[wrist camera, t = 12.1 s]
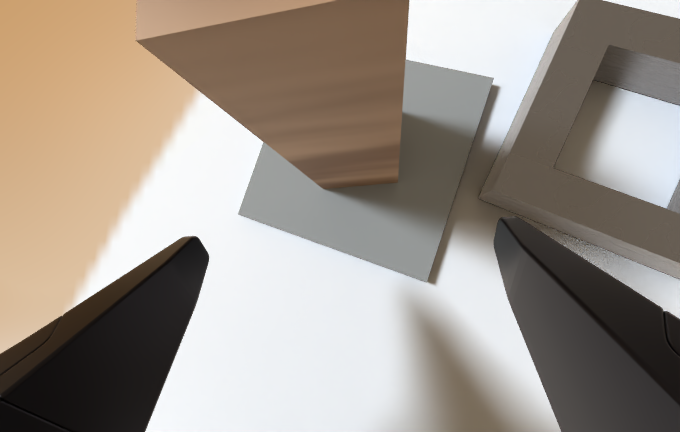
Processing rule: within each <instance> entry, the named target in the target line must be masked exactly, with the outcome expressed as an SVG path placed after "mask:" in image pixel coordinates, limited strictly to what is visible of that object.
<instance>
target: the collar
mask: <svg viewBox="0 0 680 432" xmlns="http://www.w3.org/2000/svg"><path fill="white" fill-rule="evenodd" d="M593 80H596V81H599V82H603V83H606V84H609V85H613V86H616V87H620V88H623V89H626V90H630V91H633V92H637V93H640V94H644V95H647V96H650V97H654V98H657V99H661V100H664V101H667V102H671V103H674V104H678V105H680V19H678V18H674V17H670V16H665V15H661V14H657V13H653V12H649V11H644V10H640V9H636V8H632V7H628V6H624V5H619V4H615V3H611V2H607V1H603V0H577V2H576V3H575V4H574V6H573V7H572V8H571V10H570V11H569V12H568V14H567V15H566V16H565V18H564V19H563V20H562V22H561V23H560V24H559V26H558V27H557V28H556V30H555V31H554V32H553V35H552V37H551V39H550V41H549V43H548V46H547V48H546V50H545V52H544V54H543V57H542V59H541V61H540V63H539V65H538V68H537V70H536V72H535V74H534V76H533V79H532V81H531V83H530V85H529V87H528V89H527V92H526V94H525V96H524V98H523V100H522V103H521V105H520V107H519V109H518V111H517V114H516V116H515V118H514V120H513V122H512V125H511V127H510V129H509V131H508V133H507V136H506V138H505V140H504V142H503V144H502V147H501V149H500V151H499V153H498V155H497V158H496V160H495V162H494V164H493V166H492V169H491V171H490V173H489V175H488V177H487V179H486V182H485V184H484V186H483V188H482V190H481V193H480V195H479V197H478V199H481V200H483V201H486V202H488V203H491V204H493V205H496V206H498V207H501V208H503V209H506V210H508V211H511V212H513V213H516V214H518V215H521V216H523V217H526V218H528V219H531V220H533V221H536V222H538V223H541V224H543V225H546V226H548V227H551V228H553V229H556V230H558V231H561V232H563V233H566V234H568V235H571V236H573V237H576V238H578V239H581V240H583V241H586V242H588V243H591V244H593V245H596V246H598V247H601V248H603V249H606V250H608V251H611V252H613V253H616V254H618V255H621V256H623V257H626V258H628V259H631V260H633V261H636V262H638V263H641V264H643V265H646V266H648V267H651V268H653V269H656V270H658V271H660V272H663V273H665V274H668V275H670V276H673V277H675V278H678V279H680V180H679V183H678V185H677V187H676V189H675V192H674V194H673V196H672V198H671V201H670V203H669V205H668V207H667V209H665V208H663V207H660V206H657V205H654V204H652V203H649V202H646V201H643V200H641V199H638V198H635V197H632V196H629V195H627V194H624V193H621V192H618V191H616V190H613V189H610V188H607V187H604V186H602V185H599V184H596V183H593V182H591V181H588V180H585V179H582V178H579V177H577V176H574V175H571V174H568V173H566V172H563V171H560V170H557V169H554V168H553V167H554V165H555V163H556V160H557V158H558V156H559V154H560V152H561V149H562V147H563V145H564V143H565V140H566V138H567V136H568V134H569V132H570V129H571V127H572V125H573V123H574V121H575V118H576V116H577V114H578V112H579V110H580V107H581V105H582V103H583V101H584V99H585V96H586V94H587V92H588V90H589V87H590V85H591V83H592V81H593Z"/></svg>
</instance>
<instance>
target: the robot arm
mask: <svg viewBox="0 0 680 432" xmlns="http://www.w3.org/2000/svg"><path fill="white" fill-rule="evenodd" d="M494 249H495V253H496V256H497V260H498V264H499V268H500V272H501V275H502V279H503V283H504V287H505V290H506V294H507V297H508V300H509V303H510V305H511V308H512V310H513V313H514V315H515V318H516V320H517V323H518V325H519V328H520V330H521V333H522V335H523V338H524V340H525V343H526V345H527V348H528V350H529V352H530V355H531V357H532V360H533V362H534V365H535V367H536V370H537V372H538V375H539V377H540V380H541V382H542V385H543V387H544V390H545V392H546V395H547V397H548V399H549V402H550V404H551V407H552V409H553V412H554V414H555V417H556V419H557V422H558V424H559V427H560V429H561V432H680V319H679V318H677V317H676V316H674V315H673V314H671V313H669V312H667V311H664V312H663V309H662V308H661V307H660V306H658V305H656V304H655V303H653V302H652V301H650V300H648V299H647V298H645V297H644V296H642V295H641V294H639V293H637V292H636V291H634V290H633V289H631V288H629V287H628V286H626V285H625V284H623V283H622V282H620V281H618V280H617V279H615V278H614V277H612V276H610V275H609V274H607V273H606V272H604V271H603V270H601V269H599V268H598V267H596V266H595V265H593V264H591V263H590V262H588V261H587V260H585V259H583V258H582V257H580V256H579V255H577V254H576V253H574V252H572V251H571V250H569V249H568V248H566V247H564V246H563V245H561V244H560V243H558V242H557V241H555V240H553V239H552V238H550V237H549V236H547V235H545V234H544V233H542V232H541V231H539V230H538V229H536V228H534V227H533V226H531V225H530V224H528V223H526V222H525V221H523V220H522V219H520V218H518V217H502V218H500V219H499V220H498V223H497V228H496V232H495V237H494ZM208 262H209V254H208V252H207V251H206V249H205V247H204V246H203V244H202V243H201V241H200V239H199V238H198V237H196V236H186V237H182V238H181V239H179V240H177V241H176V242H174V243H173V244H171V245H170V246H168V247H167V248H165V249H164V250H162V251H160V252H159V253H157V254H156V255H154V256H153V257H151V258H150V259H148V260H147V261H145V262H144V263H142V264H140V265H139V266H137V267H136V268H134V269H133V270H131V271H130V272H128V273H127V274H125V275H123V276H122V277H120V278H119V279H117V280H116V281H114V282H113V283H111V284H110V285H108V286H106V287H105V288H103V289H102V290H100V291H99V292H97V293H96V294H94V295H93V296H91V297H89V298H88V299H86V300H85V301H83V302H82V303H80V304H79V305H77V306H76V307H74V308H73V309H71V310H69V311H68V312H66V313H65V314H64V315H63V316H60V317H59V318H57V319H55V320H54V321H52V322H51V323H49V324H48V325H46V326H45V327H43V328H41V329H40V330H38V331H37V332H35V333H34V334H32V335H30V336H29V337H27V338H26V339H24V340H22V341H21V342H19V343H18V344H16V345H14V346H13V347H11V348H9V349H8V350H6V351H4V352H3V353H1V354H0V432H145V431H146V428H147V426H148V423H149V421H150V418H151V416H152V413H153V411H154V408H155V406H156V403H157V401H158V398H159V396H160V393H161V391H162V388H163V386H164V383H165V381H166V378H167V376H168V373H169V371H170V368H171V366H172V363H173V361H174V358H175V356H176V354H177V351H178V349H179V346H180V344H181V341H182V339H183V336H184V334H185V331H186V329H187V326H188V324H189V321H190V319H191V316H192V314H193V311H194V309H195V306H196V303H197V300H198V297H199V294H200V290H201V287H202V283H203V280H204V276H205V273H206V269H207V266H208Z"/></svg>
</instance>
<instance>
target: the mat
mask: <svg viewBox="0 0 680 432" xmlns="http://www.w3.org/2000/svg"><path fill="white" fill-rule="evenodd" d="M493 79H494V78H491V77H486V76H481V75H477V74H472V73H467V72H462V71H457V70H453V69H448V68H443V67H438V66H433V65H429V64H424V63H419V62H414V61H409V60H405V76H404V92H403V107H402V123H401V139H400V155H399V171H398V183H387V184H376V185H364V186H352V187H341V188H329V189H323V188H321V187H320V186H319V185H317V184H316V183H315V182H314V181H312V180H311V179H310V178H309V177H307V176H306V175H305V174H304V173H302V172H301V171H300V170H299V169H297V168H296V167H295V166H293V165H292V164H291V163H290V162H288V161H287V160H286V159H285V158H283V157H282V156H281V155H280V154H278V153H277V152H276V151H275V150H273V149H272V148H271V147H269V146H268V145H267V144H266V143H263V145H262V148H261V151H260V154H259V157H258V159H257V162H256V165H255V168H254V171H253V174H252V176H251V179H250V182H249V185H248V188H247V190H246V193H245V196H244V199H243V202H242V204H241V207H240V210H239V213H238V214H239V215H241V216H244V217H247V218H250V219H252V220H255V221H258V222H261V223H263V224H266V225H269V226H272V227H275V228H277V229H280V230H283V231H286V232H288V233H291V234H294V235H297V236H300V237H302V238H305V239H308V240H311V241H313V242H316V243H319V244H322V245H324V246H327V247H330V248H333V249H336V250H338V251H341V252H344V253H347V254H349V255H352V256H355V257H358V258H360V259H363V260H366V261H369V262H372V263H374V264H377V265H380V266H383V267H385V268H388V269H391V270H394V271H397V272H399V273H402V274H405V275H408V276H410V277H413V278H416V279H419V280H421V281H424V282H427V280H428V277H429V274H430V271H431V268H432V265H433V262H434V259H435V255H436V252H437V249H438V246H439V243H440V240H441V237H442V234H443V231H444V228H445V225H446V222H447V219H448V216H449V213H450V210H451V207H452V204H453V201H454V198H455V195H456V192H457V189H458V186H459V183H460V180H461V176H462V173H463V170H464V167H465V164H466V161H467V158H468V155H469V152H470V149H471V146H472V143H473V140H474V137H475V134H476V131H477V128H478V125H479V122H480V119H481V116H482V113H483V110H484V107H485V104H486V101H487V98H488V94H489V91H490V88H491V85H492V82H493Z"/></svg>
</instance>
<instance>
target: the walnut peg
mask: <svg viewBox="0 0 680 432" xmlns="http://www.w3.org/2000/svg"><path fill="white" fill-rule="evenodd" d="M136 12H137V13H136V41H137V42H138V43H139V44H141V45H142V46H143V47H145V48H146V49H147V50H148V51H150V52H151V53H152V54H153V55H155V56H156V57H157V58H158V59H160V60H161V61H162V62H163V63H165V64H166V65H167V66H168V67H170V68H171V69H172V70H174V71H175V72H176V73H177V74H179V75H180V76H181V77H182V78H184V79H185V80H186V81H187V82H189V83H190V84H191V85H192V86H194V87H195V88H196V89H197V90H199V91H200V92H201V93H203V94H204V95H205V96H206V97H208V98H209V99H210V100H211V101H213V102H214V103H215V104H216V105H218V106H219V107H220V108H221V109H223V110H224V111H225V112H227V113H228V114H229V115H230V116H232V117H233V118H234V119H235V120H237V121H238V122H239V123H240V124H242V125H243V126H244V127H245V128H247V129H248V130H249V131H251V132H252V133H253V134H254V135H256V136H257V137H258V138H259V139H261V140H262V141H263V142H264V143H266V144H267V145H268V146H269V147H271V148H272V149H273V150H275V151H276V152H277V153H278V154H280V155H281V156H282V157H283V158H285V159H286V160H287V161H288V162H290V163H291V164H292V165H293V166H295V167H296V168H297V169H299V170H300V171H301V172H302V173H304V174H305V175H306V176H307V177H309V178H310V179H311V180H312V181H314V182H315V183H316V184H317V185H319V186H320V187H321V188H323V189H329V188H341V187H352V186H364V185H376V184H387V183H398V171H399V155H400V139H401V123H402V107H403V92H404V76H405V60H406V44H407V28H408V12H409V0H137V11H136Z"/></svg>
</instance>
